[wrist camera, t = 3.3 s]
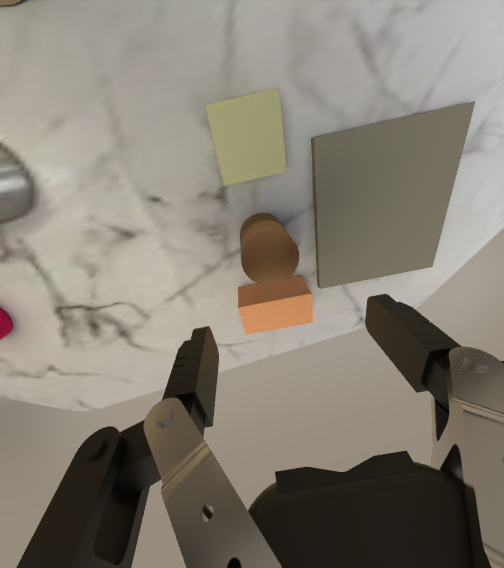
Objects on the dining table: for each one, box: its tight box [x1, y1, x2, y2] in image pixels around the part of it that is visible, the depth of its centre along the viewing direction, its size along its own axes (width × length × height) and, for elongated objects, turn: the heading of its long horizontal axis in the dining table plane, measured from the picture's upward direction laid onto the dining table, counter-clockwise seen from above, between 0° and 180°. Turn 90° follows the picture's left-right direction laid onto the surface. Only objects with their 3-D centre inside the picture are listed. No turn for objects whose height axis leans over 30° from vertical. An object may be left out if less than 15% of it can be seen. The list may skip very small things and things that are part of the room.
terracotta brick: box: [238, 275, 313, 335], centre depth 26 cm, size 8×4×4 cm, turn 101°
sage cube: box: [205, 88, 287, 186], centre depth 17 cm, size 5×5×5 cm
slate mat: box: [311, 101, 475, 289], centre depth 23 cm, size 16×14×1 cm
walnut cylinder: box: [240, 213, 299, 285], centre depth 21 cm, size 5×5×7 cm
